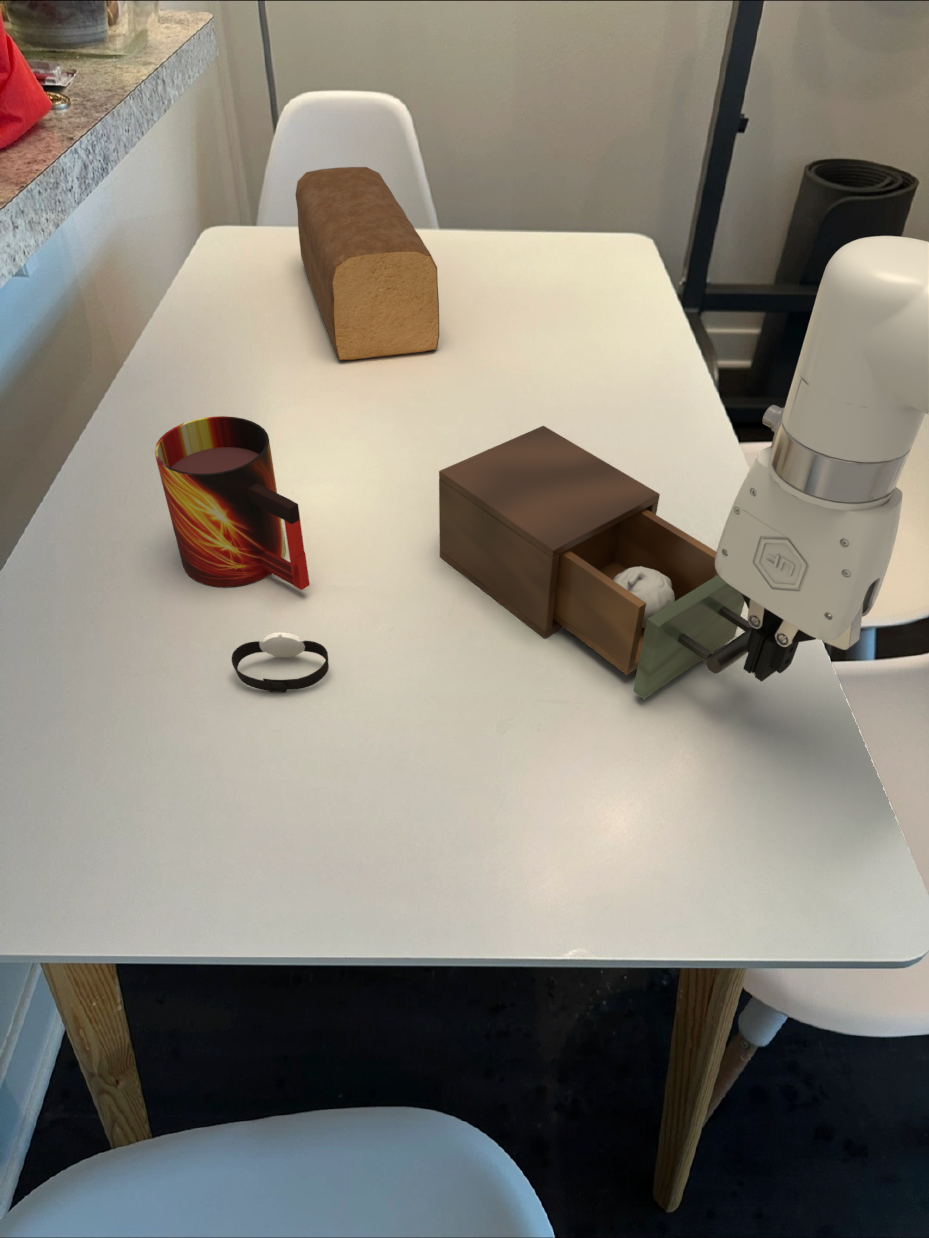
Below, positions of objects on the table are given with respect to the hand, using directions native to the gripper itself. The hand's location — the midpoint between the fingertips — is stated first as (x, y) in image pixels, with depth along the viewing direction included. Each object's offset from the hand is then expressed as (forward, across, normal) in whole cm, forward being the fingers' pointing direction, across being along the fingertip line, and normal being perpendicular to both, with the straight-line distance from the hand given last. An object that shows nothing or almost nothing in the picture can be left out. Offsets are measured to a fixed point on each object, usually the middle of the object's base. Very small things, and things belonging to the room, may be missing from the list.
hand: (764, 667), depth 68 cm
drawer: (+5, -11, 0) cm, 12 cm away
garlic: (+4, -12, 0) cm, 13 cm away
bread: (+7, -83, +21) cm, 86 cm away
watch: (+6, -27, -26) cm, 38 cm away
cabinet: (+6, -24, 0) cm, 25 cm away
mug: (+6, -42, -20) cm, 47 cm away
